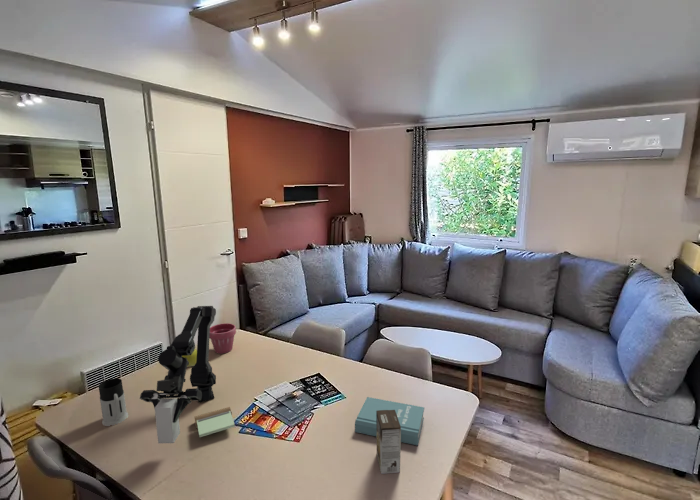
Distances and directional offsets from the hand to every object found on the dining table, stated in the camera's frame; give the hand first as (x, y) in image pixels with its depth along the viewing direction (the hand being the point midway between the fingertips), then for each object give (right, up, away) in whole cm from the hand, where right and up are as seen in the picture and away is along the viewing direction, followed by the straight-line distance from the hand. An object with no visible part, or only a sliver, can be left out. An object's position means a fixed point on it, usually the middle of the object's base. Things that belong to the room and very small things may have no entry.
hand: (165, 422), depth 120 cm
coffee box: (+73, -12, -1) cm, 74 cm away
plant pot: (-9, +2, +80) cm, 81 cm away
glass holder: (-29, -10, +21) cm, 37 cm away
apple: (-20, -1, +65) cm, 68 cm away
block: (0, -6, +3) cm, 7 cm away
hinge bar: (+8, -9, +21) cm, 24 cm away
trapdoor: (+11, -7, +15) cm, 20 cm away
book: (+76, -9, +17) cm, 78 cm away
